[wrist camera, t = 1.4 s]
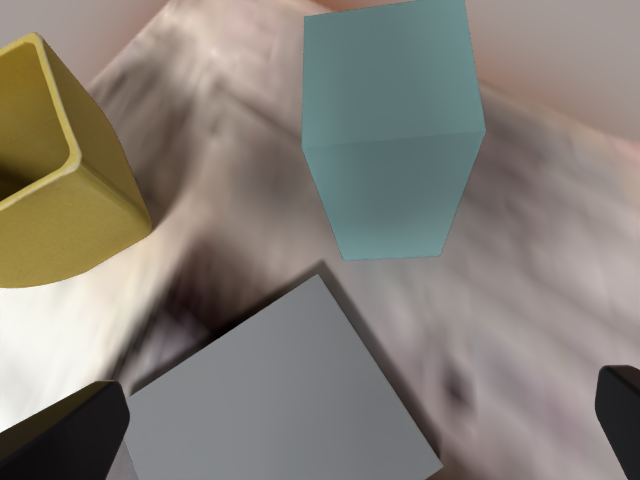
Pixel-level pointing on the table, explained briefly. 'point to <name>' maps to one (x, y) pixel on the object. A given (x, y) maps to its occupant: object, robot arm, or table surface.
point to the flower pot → (58, 173)
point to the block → (391, 123)
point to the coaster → (278, 405)
